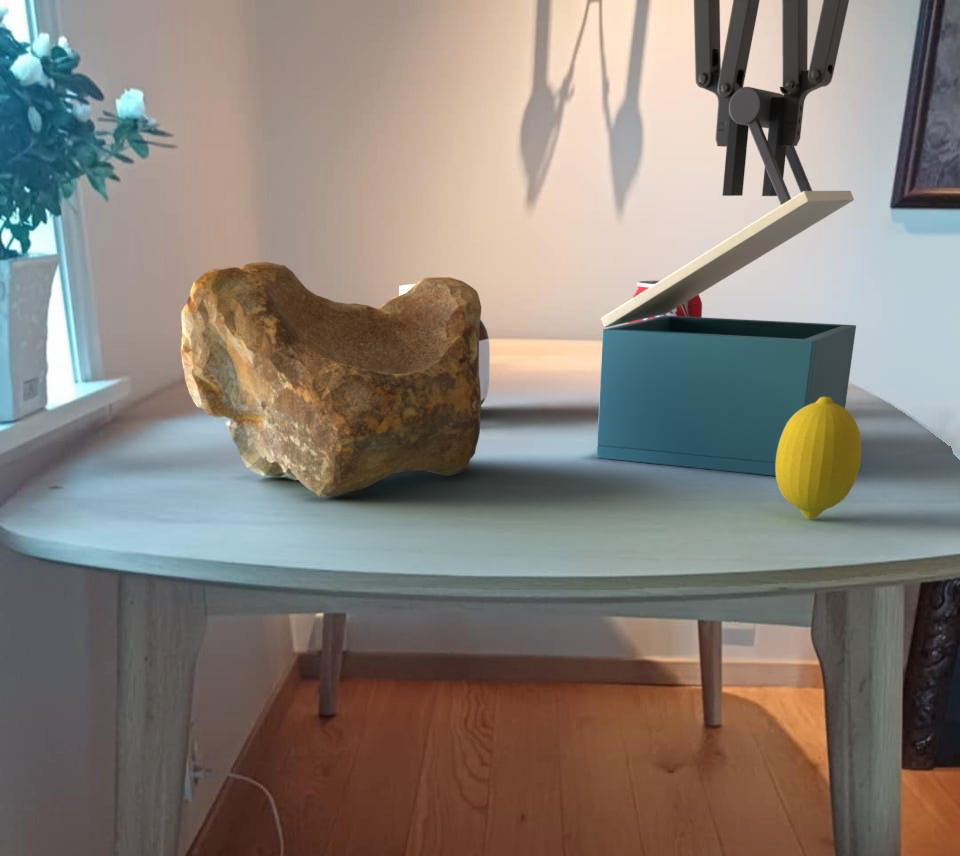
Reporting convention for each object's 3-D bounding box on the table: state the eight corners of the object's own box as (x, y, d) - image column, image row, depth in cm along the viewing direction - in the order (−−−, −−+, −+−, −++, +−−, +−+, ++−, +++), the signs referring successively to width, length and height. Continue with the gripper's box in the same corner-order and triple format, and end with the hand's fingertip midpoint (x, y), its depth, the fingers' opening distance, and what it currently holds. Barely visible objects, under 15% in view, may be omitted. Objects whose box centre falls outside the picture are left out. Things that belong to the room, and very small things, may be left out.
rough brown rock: (213, 527, 86) (201, 292, 78) (182, 461, 99) (169, 254, 92) (528, 514, 93) (547, 297, 85) (460, 454, 107) (470, 262, 99)
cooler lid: (854, 199, 100) (806, 80, 99) (808, 201, 90) (753, 66, 88) (665, 314, 111) (619, 207, 109) (604, 327, 100) (551, 210, 98)
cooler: (839, 449, 109) (856, 325, 104) (796, 478, 98) (813, 341, 93) (655, 432, 116) (663, 315, 111) (596, 457, 105) (602, 329, 100)
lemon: (794, 531, 83) (809, 404, 79) (755, 512, 88) (767, 392, 84) (867, 525, 84) (886, 401, 81) (825, 507, 89) (841, 389, 85)
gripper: (663, -189, 87) (641, 195, 98) (891, -217, 80) (840, 197, 91) (699, -165, 92) (674, 194, 104) (914, -190, 86) (863, 196, 97)
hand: (752, 195), depth 97 cm, fingers closed on cooler lid, 2 cm apart
